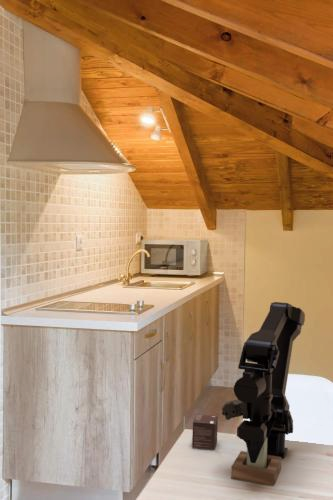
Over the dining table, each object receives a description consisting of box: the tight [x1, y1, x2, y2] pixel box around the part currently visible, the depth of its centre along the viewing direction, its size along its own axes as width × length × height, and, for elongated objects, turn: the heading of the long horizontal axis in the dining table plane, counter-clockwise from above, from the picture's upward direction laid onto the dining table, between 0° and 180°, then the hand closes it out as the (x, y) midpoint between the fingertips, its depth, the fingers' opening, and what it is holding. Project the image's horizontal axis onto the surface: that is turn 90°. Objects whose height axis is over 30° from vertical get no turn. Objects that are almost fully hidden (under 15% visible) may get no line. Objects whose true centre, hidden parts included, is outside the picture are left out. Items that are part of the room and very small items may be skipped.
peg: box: [246, 437, 267, 468], centre depth 148 cm, size 4×4×8 cm
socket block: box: [230, 450, 282, 487], centre depth 148 cm, size 10×10×3 cm
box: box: [191, 413, 219, 451], centre depth 166 cm, size 6×6×7 cm
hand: (257, 455), depth 148 cm, fingers open, 9 cm apart
